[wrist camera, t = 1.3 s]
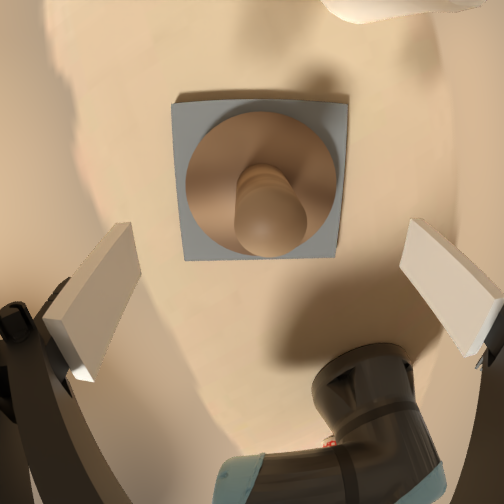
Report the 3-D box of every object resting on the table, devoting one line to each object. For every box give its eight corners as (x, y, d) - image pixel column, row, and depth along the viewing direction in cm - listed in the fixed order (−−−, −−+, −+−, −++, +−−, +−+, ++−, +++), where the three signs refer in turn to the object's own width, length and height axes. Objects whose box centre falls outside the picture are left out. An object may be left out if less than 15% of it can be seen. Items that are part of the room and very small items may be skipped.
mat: (332, 252, 28) (334, 257, 27) (186, 256, 28) (184, 261, 27) (343, 104, 21) (347, 104, 21) (173, 103, 21) (171, 103, 20)
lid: (326, 248, 27) (356, 306, 19) (194, 251, 26) (176, 313, 19) (335, 114, 21) (383, 121, 13) (183, 114, 21) (151, 119, 13)
